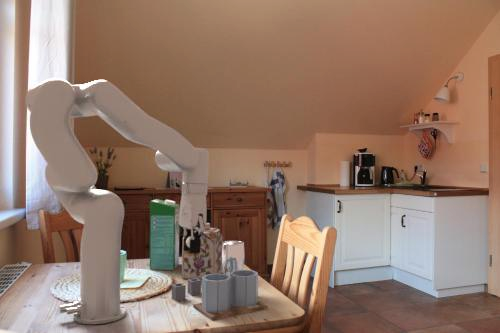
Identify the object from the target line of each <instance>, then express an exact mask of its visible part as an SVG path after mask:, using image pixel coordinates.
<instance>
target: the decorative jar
mask: <svg viewBox="0 0 500 333" xmlns="http://www.w3.org/2000/svg"><path fill="white" fill-rule="evenodd" d="M194 229H198V228H197V227H194ZM204 229H205V231H204V233H203V234H202V238H201V244H200V253H192V254H191V253H189V251H184V250H183V248H184V236H183V237H182V248H181V249H182V250H181V252H182V253H181V278H182V279H184V280H188V279H194V278H198V279H199V280H201V281H202V277H203V276H205V275H208V274H222V273H223V270H222V263H221V251H222V242H224V240H223V233H222V231H221V229H219V228H216V227H211V223H210V222H206V226H205V228H204ZM190 230H191V229H190ZM195 232H196V231H195Z"/></svg>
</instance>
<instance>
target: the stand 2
mask: <svg viewBox="0 0 500 333" xmlns="http://www.w3.org/2000/svg"><path fill="white" fill-rule="evenodd" d="M186 293H187V294H189V295H190V296H196V295H202V280H199V279H198V278H194V279H187V292H186Z"/></svg>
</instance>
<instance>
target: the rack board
mask: <svg viewBox="0 0 500 333" xmlns="http://www.w3.org/2000/svg"><path fill="white" fill-rule="evenodd" d="M192 305H193V306H192V307H193V309H195V310H197V311H198V312H199V313H201V314H202V315H204V317H207V318H208V319H209V320H211V321H215V320H221V319H226V318H231V317H235V316H240V315H243V314H249V313H254V312H258V311H264V310H267V309H268V305H266V304H265V303H263V302H261V301H259V300H258V302H257V304H256V305H254V306H249V307H238V306H234V305H232V304H231V308H230V309H229V310H228V311H224V312H219V313H213V312H206V311H204V310H203V309H202V302H199V303H193V304H192Z"/></svg>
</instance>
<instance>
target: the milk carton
mask: <svg viewBox="0 0 500 333" xmlns="http://www.w3.org/2000/svg"><path fill="white" fill-rule="evenodd" d="M149 205H150V206H149V210H150V211H149V270H153V271H155V270H156V271H157V270H158V271H159V270H160V271H162V270H163V271H164V270H165V271H168V270H169V271H174V270H176V269H177V267H178V265H179V264H180V225H179V211H180V204H177V203H176V201H175V200H171V199H165V200H163V199H159V198H155V199H153V200H150V201H149Z"/></svg>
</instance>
